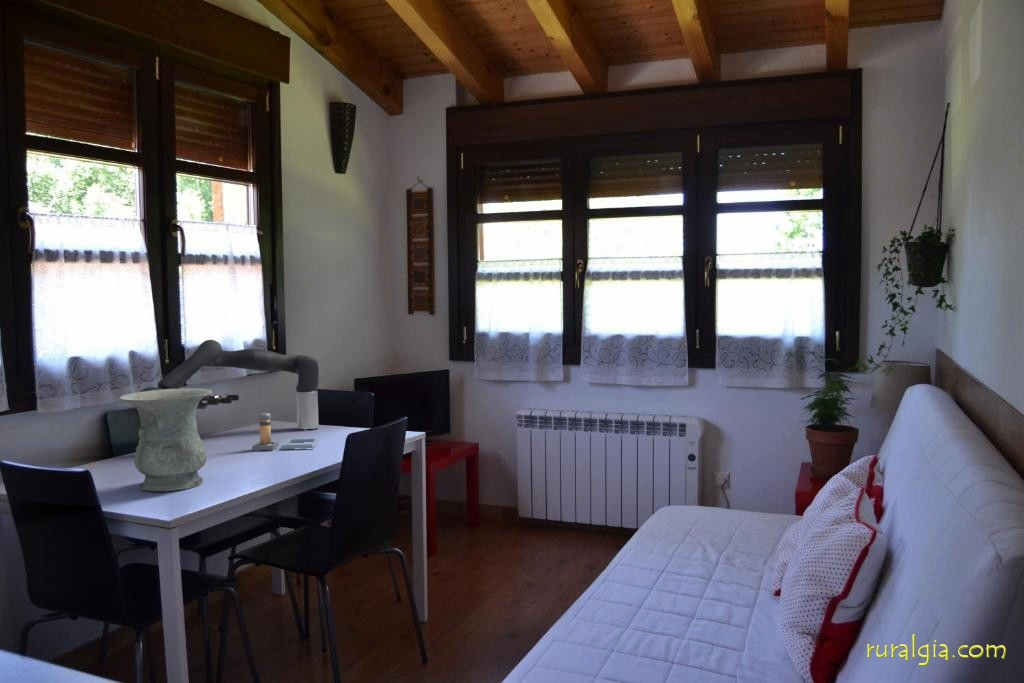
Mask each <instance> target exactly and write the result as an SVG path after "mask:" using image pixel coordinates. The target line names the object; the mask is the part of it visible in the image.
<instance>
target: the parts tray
mask: <svg viewBox="0 0 1024 683" xmlns="http://www.w3.org/2000/svg"><path fill="white" fill-rule="evenodd" d="M304 442H312V443H311V444H291V443H304ZM318 442H319V443H320V438H319V437H318V438H289V439H287V440H286V441H285V442H283V443H282V444H281V450H282V449H295V448H313V447H314V446H315V445H316V444H317V443H318Z"/></svg>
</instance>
